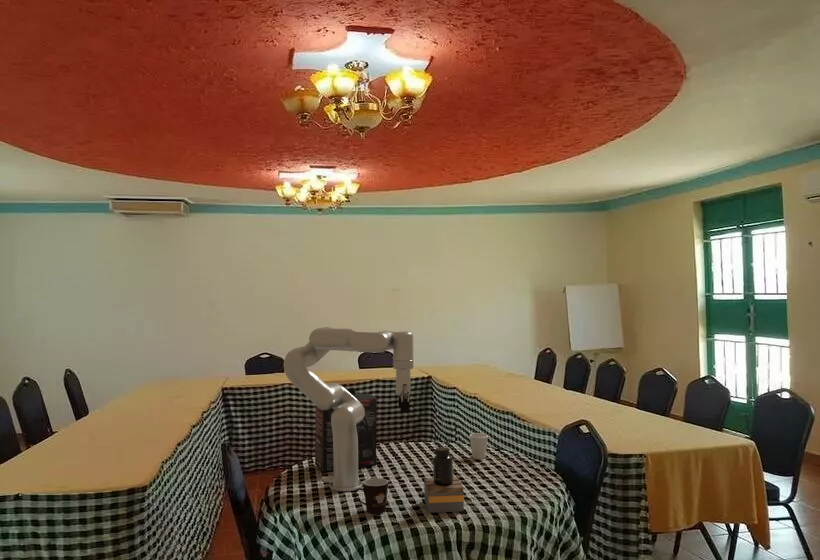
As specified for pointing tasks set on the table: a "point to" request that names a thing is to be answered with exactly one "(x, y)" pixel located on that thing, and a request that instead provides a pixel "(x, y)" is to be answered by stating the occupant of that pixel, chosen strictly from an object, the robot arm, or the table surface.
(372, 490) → the coffee mug
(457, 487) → the pallet
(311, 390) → the robot arm
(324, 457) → the headset box
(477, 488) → the table surface
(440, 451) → the supplement bottle
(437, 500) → the dock
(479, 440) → the dixie cup
